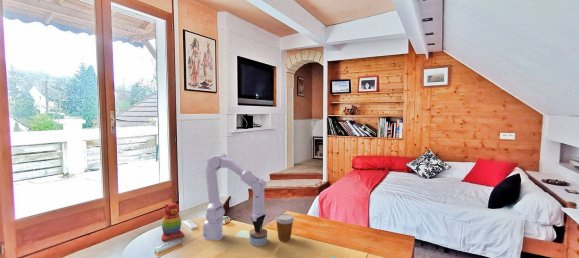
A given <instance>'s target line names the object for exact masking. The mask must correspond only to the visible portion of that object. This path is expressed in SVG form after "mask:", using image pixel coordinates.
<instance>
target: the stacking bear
mask: <svg viewBox="0 0 579 258" xmlns="http://www.w3.org/2000/svg"><path fill="white" fill-rule="evenodd" d="M164 213H165V215H164V216H163V217H162V222H161V228H162V235H161V241H162V242H163V243H165V242H171V240H174V239H175V240H176V239H181V238H184V237H185V233H184V232H183V231H182V230H181V227H182V219H181V216H180V214H179V206H178V202H170V203H168V204H167V203H166V204H165V205H164Z"/></svg>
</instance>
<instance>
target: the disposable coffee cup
mask: <svg viewBox="0 0 579 258" xmlns="http://www.w3.org/2000/svg"><path fill="white" fill-rule="evenodd" d="M275 217H276V218H275V222H276V229H277V238H278V240H279V241H280V242H281V243H287V242H290V241H291V236H292V229H293V223H294V220H295V219H294V216H293V215H292V214H288V213H280V214H277V215H276V216H275Z"/></svg>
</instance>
